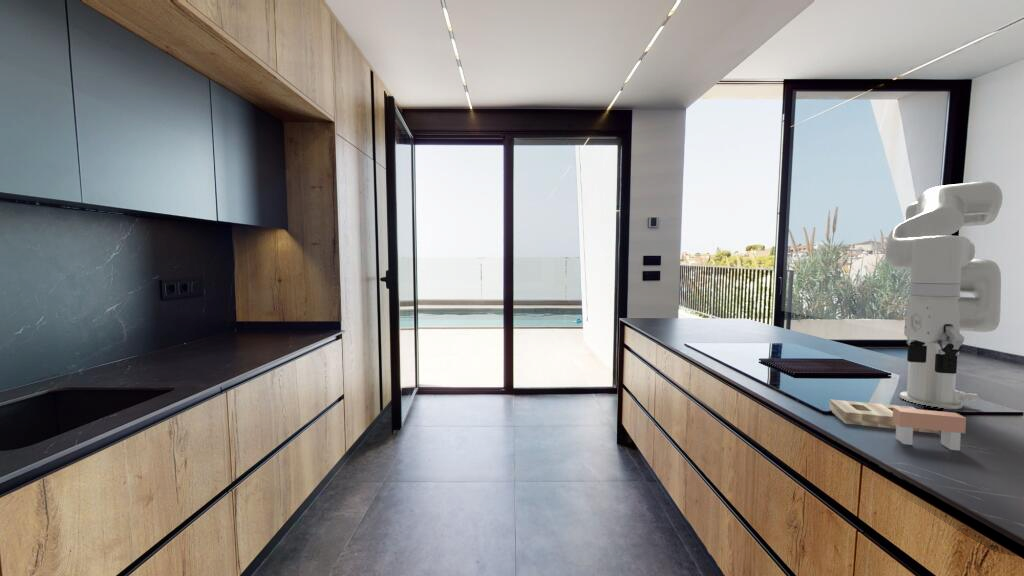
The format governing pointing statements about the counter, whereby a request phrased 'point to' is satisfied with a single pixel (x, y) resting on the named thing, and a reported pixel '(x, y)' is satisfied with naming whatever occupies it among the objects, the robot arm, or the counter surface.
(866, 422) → the beige flat slotted block
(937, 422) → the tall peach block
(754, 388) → the counter surface
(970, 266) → the robot arm
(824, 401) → the counter surface
